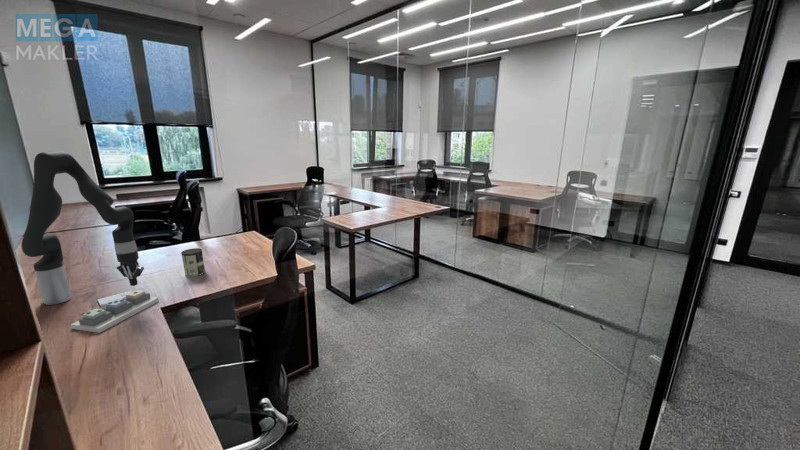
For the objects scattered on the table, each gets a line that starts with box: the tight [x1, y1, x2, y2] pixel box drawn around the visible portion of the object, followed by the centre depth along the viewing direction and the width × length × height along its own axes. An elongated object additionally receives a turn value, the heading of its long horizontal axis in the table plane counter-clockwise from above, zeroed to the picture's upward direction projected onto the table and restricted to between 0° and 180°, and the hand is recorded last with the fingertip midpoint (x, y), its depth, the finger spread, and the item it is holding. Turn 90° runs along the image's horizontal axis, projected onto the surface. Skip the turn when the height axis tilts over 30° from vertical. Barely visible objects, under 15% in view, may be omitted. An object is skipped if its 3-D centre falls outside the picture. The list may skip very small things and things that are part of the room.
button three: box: [106, 299, 127, 309], centre depth 143 cm, size 5×5×3 cm
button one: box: [126, 289, 147, 299], centre depth 152 cm, size 5×5×3 cm
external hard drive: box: [96, 290, 132, 308], centre depth 157 cm, size 2×8×12 cm
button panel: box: [70, 292, 160, 334], centre depth 144 cm, size 14×27×4 cm, turn 170°
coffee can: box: [180, 247, 206, 278], centre depth 187 cm, size 10×10×14 cm
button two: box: [82, 308, 106, 320], centre depth 134 cm, size 5×5×3 cm
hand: (134, 285), depth 150 cm, fingers closed
